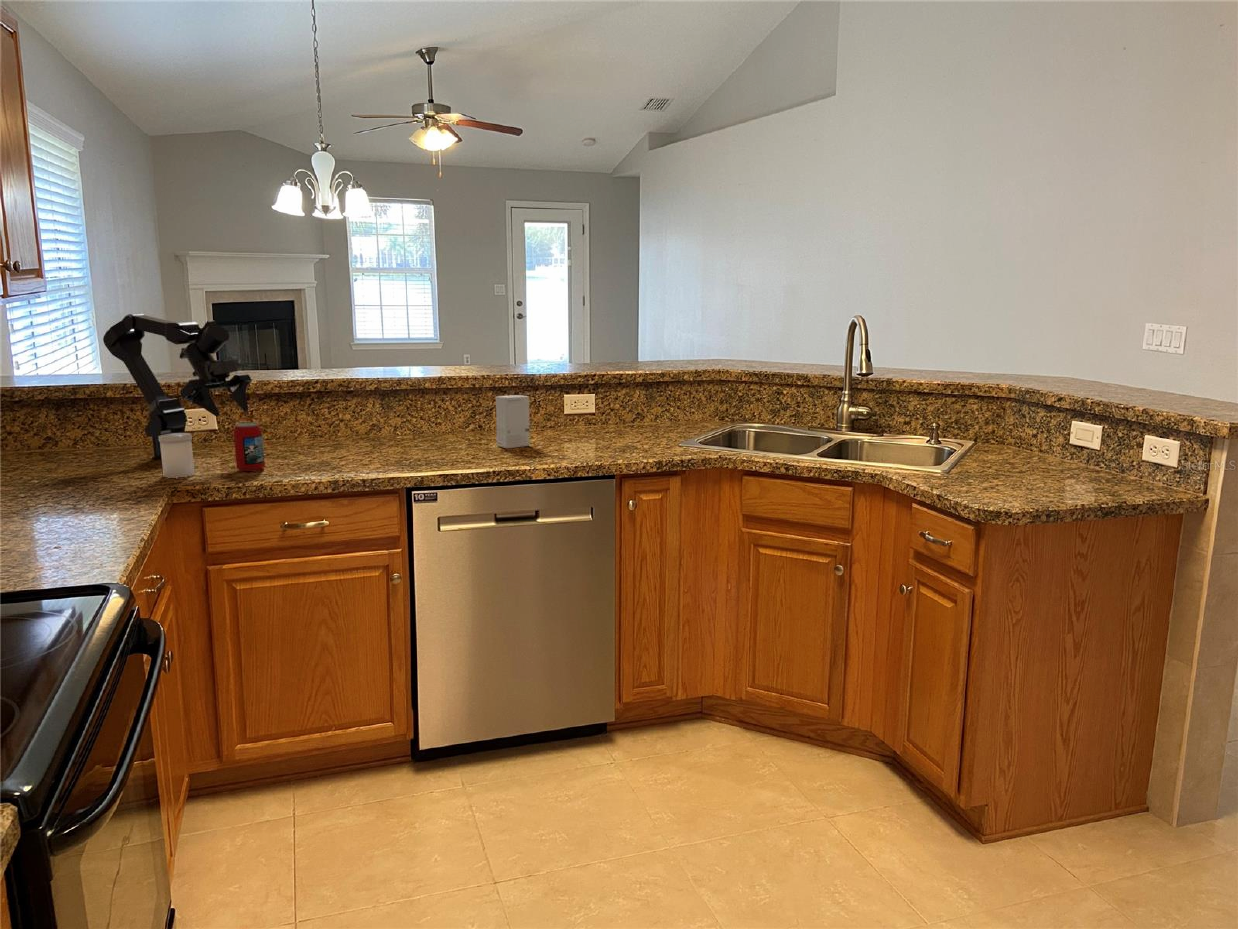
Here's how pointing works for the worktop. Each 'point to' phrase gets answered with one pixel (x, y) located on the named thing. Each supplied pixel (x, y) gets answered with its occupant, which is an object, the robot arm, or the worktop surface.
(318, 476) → the worktop surface
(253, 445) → the beverage can
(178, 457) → the sugar jar
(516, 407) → the skincare box
